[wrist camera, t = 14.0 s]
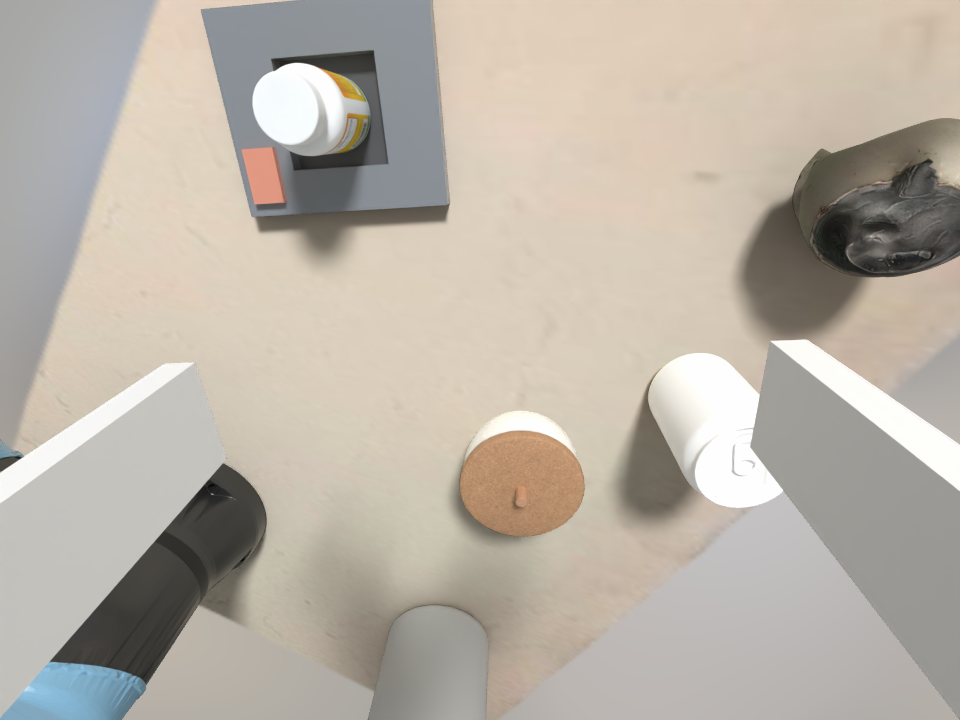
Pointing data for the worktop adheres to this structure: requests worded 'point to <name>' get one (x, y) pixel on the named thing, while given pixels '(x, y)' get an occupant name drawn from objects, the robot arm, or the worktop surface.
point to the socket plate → (365, 61)
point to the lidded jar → (521, 475)
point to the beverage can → (712, 429)
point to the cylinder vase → (433, 667)
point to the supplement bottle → (311, 110)
